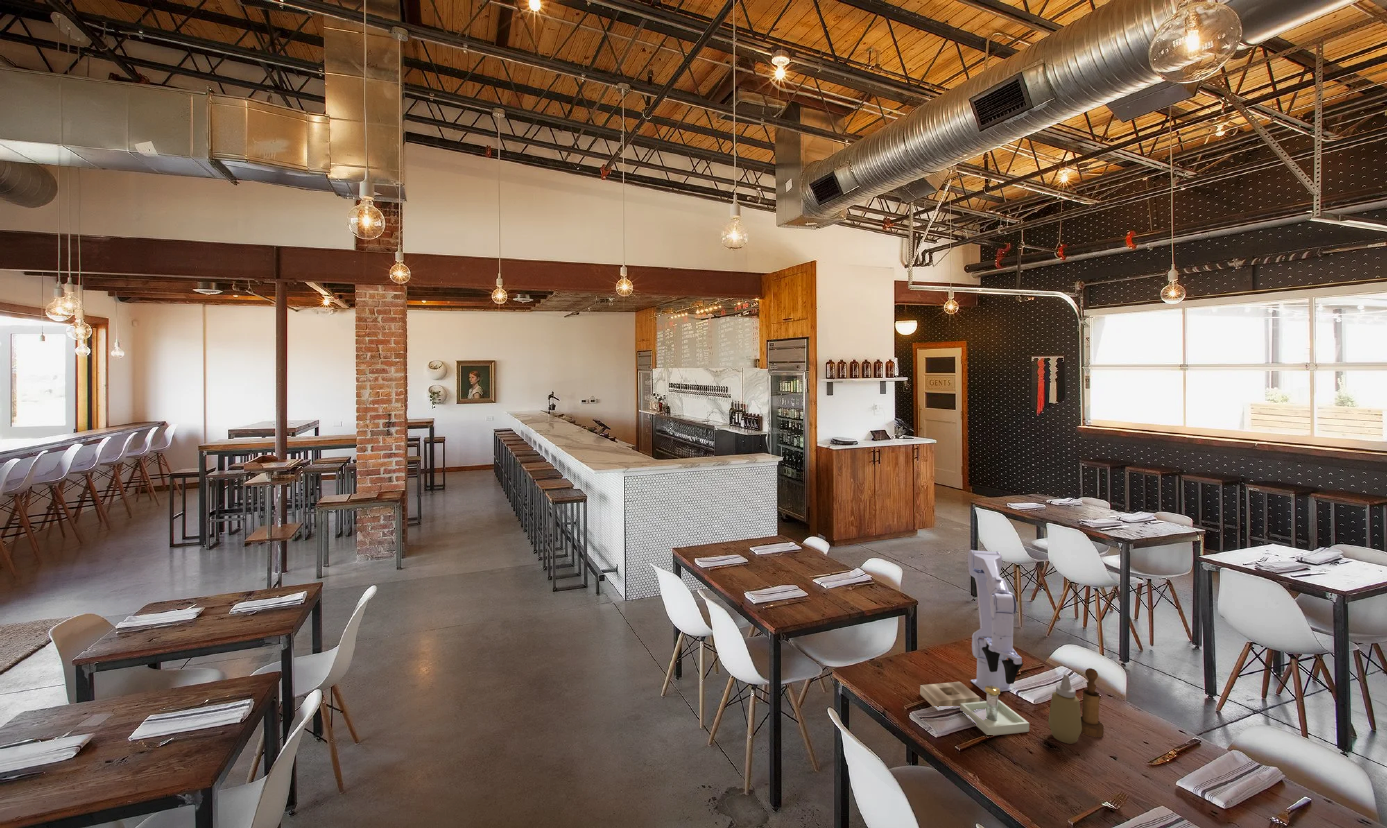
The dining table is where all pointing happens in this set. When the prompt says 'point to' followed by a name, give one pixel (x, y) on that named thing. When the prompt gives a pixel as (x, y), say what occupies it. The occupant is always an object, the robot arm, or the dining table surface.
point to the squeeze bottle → (1065, 713)
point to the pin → (992, 702)
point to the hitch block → (948, 694)
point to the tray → (1004, 724)
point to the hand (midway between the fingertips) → (1001, 677)
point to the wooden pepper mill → (1091, 707)
